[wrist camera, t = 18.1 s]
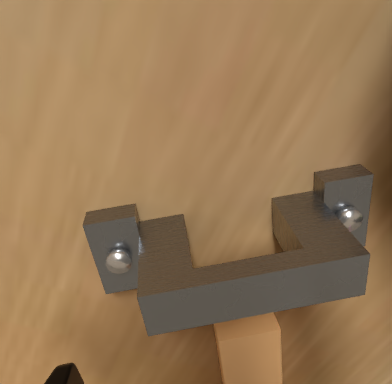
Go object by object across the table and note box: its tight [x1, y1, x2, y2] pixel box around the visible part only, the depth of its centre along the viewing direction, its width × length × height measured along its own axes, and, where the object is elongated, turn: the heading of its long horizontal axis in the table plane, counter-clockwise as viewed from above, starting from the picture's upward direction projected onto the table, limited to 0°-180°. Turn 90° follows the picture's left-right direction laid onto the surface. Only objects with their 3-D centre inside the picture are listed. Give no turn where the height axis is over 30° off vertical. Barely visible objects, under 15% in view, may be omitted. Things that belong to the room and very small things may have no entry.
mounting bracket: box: [83, 164, 374, 336], centre depth 19 cm, size 5×16×6 cm, turn 98°
